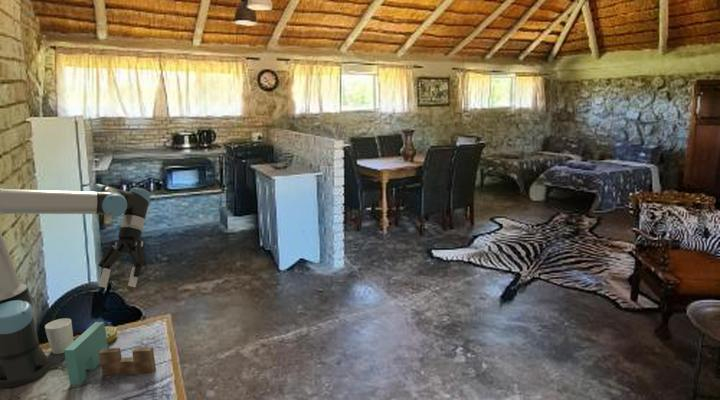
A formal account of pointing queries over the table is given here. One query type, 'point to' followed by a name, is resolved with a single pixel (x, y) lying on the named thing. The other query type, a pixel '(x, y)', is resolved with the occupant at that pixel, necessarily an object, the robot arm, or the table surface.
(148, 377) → the table surface
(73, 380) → the teal upright panel
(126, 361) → the walnut slotted plate
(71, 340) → the white cup
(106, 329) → the decorated donut
